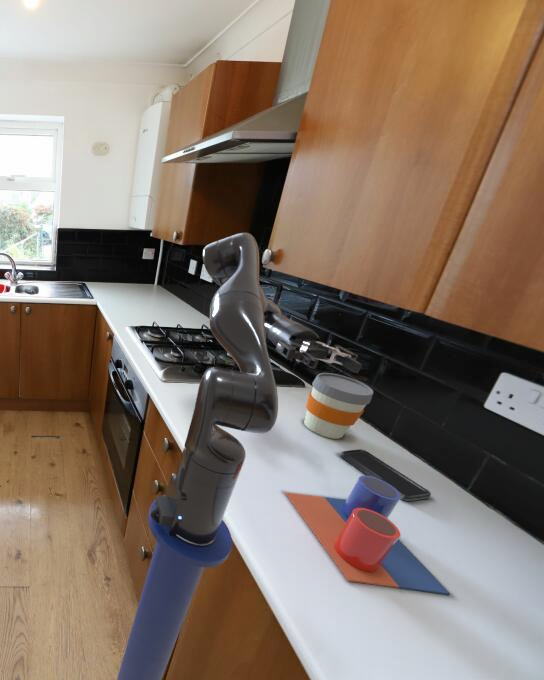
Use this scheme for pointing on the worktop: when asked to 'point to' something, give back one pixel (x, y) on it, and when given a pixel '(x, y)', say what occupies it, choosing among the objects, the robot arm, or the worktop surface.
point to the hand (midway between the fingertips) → (337, 366)
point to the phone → (385, 474)
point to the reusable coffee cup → (335, 404)
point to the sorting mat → (393, 571)
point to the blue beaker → (372, 496)
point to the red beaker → (366, 539)
